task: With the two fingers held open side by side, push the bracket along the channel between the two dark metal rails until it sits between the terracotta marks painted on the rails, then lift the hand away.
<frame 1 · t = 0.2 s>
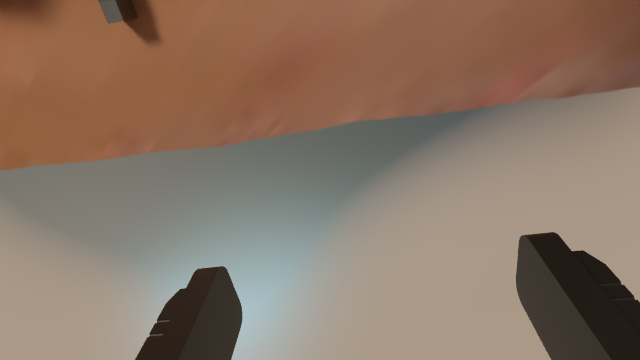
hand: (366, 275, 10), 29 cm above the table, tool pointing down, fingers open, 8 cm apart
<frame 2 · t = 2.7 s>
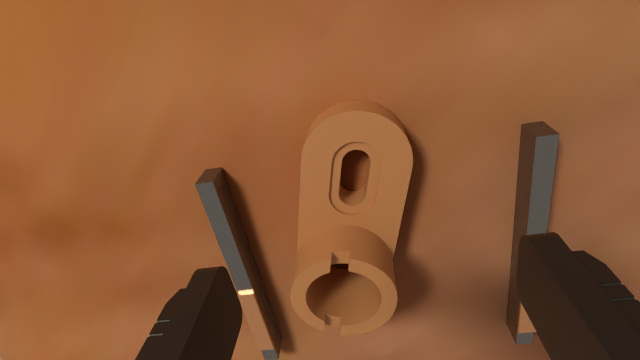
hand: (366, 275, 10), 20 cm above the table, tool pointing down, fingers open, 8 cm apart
bracket: (349, 198, 33), on the table
guide rails: (378, 252, 35), on the table
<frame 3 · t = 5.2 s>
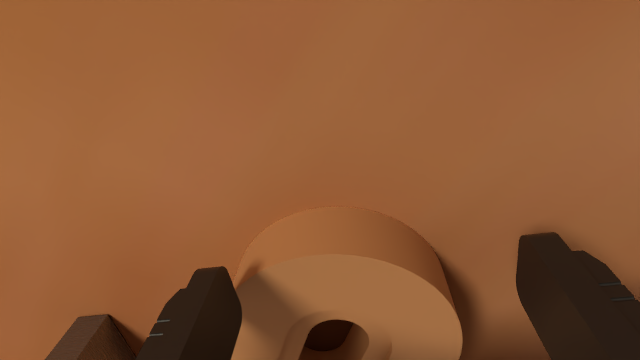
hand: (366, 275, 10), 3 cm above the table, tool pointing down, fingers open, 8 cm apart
bracket: (309, 355, 18), on the table
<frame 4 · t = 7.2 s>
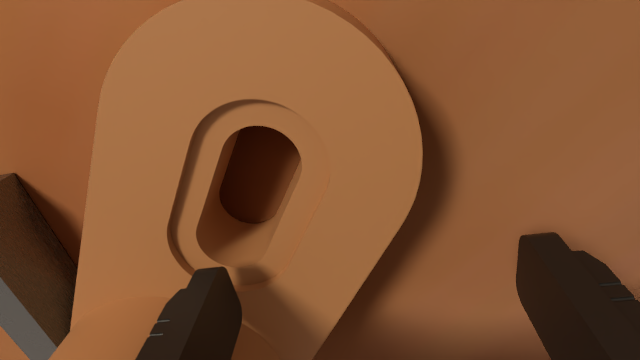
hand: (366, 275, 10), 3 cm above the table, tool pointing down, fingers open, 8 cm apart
bracket: (235, 235, 14), on the table, touching gripper
guide rails: (387, 347, 16), on the table
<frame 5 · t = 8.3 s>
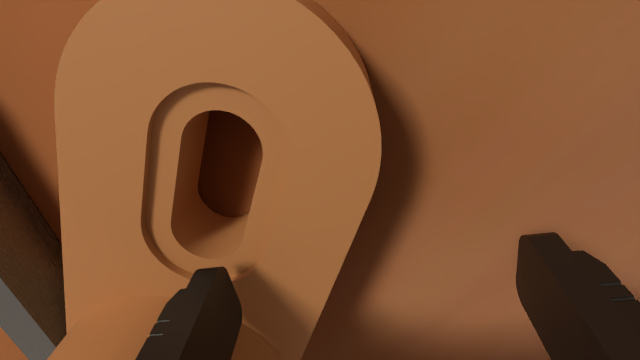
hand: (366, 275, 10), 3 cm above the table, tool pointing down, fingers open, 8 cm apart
bracket: (221, 230, 14), on the table, touching gripper
guide rails: (373, 274, 14), on the table
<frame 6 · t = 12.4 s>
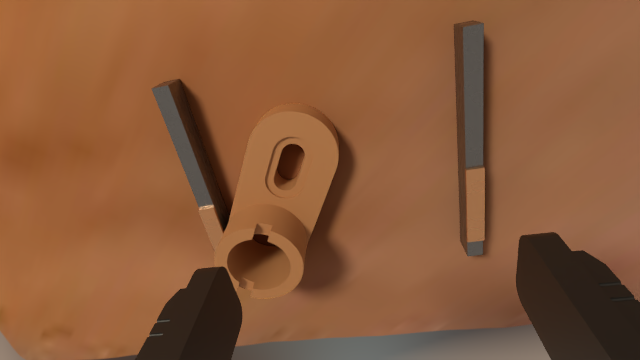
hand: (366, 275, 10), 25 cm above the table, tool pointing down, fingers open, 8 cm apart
bracket: (283, 185, 38), on the table
guide rails: (332, 167, 37), on the table
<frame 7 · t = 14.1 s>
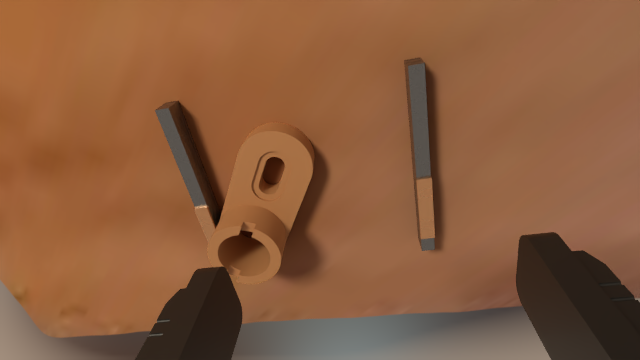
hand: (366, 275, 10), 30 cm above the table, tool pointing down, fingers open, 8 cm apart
bracket: (267, 189, 45), on the table
guide rails: (307, 174, 43), on the table
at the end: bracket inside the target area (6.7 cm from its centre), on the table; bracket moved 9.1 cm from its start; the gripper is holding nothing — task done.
